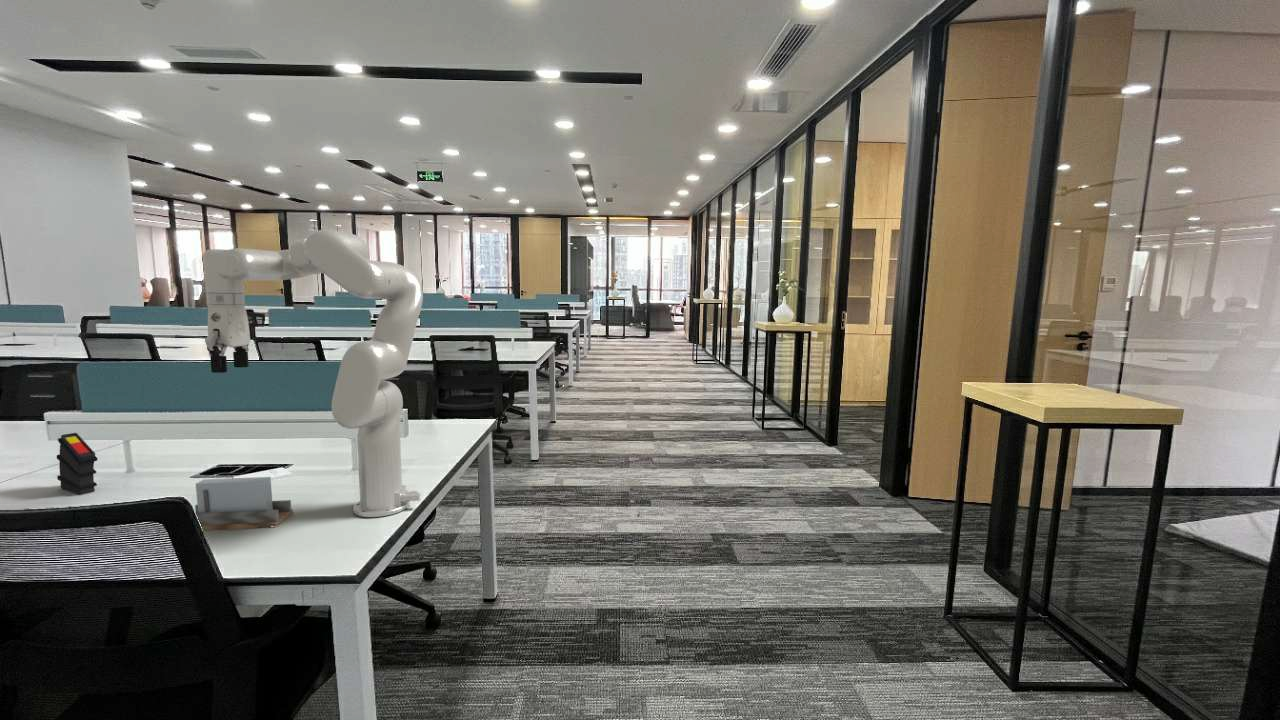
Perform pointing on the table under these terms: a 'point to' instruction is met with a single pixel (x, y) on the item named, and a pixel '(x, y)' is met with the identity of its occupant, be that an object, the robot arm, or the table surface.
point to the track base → (246, 517)
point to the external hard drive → (268, 474)
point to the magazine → (76, 464)
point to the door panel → (234, 494)
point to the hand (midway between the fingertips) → (230, 369)
